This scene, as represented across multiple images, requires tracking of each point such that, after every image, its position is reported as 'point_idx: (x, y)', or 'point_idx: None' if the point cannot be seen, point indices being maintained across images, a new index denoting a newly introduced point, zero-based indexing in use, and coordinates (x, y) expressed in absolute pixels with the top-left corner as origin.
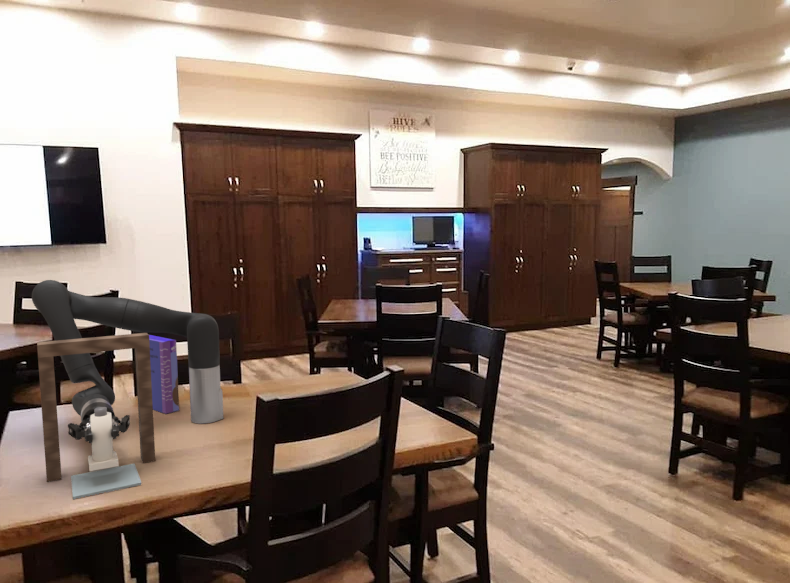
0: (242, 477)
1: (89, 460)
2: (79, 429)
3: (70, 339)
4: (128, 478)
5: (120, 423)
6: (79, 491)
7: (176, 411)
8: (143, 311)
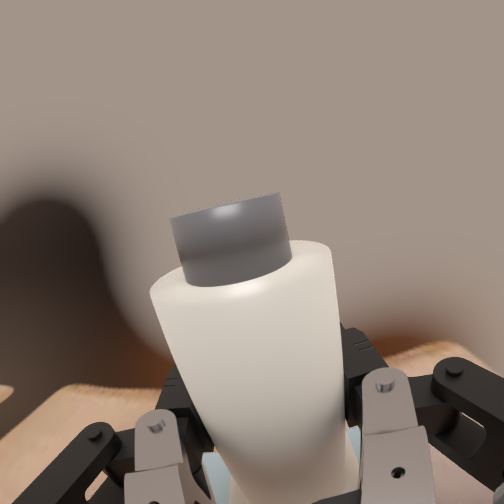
0: (55, 395)
1: (356, 467)
2: (437, 365)
3: None
4: (222, 493)
5: (116, 435)
6: None
7: None
8: None
